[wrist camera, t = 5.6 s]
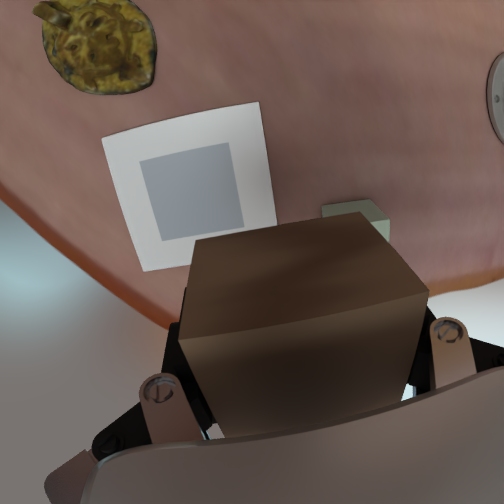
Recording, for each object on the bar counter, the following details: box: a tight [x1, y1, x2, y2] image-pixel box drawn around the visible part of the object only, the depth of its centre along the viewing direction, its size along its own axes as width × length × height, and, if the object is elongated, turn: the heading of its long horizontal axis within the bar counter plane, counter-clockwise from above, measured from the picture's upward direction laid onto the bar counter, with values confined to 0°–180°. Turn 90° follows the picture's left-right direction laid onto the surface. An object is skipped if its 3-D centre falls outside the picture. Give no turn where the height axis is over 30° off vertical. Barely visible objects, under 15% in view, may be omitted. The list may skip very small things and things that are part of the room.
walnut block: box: [178, 211, 429, 438], centre depth 10 cm, size 6×6×5 cm
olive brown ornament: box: [32, 0, 157, 95], centre depth 20 cm, size 9×5×15 cm
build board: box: [102, 102, 277, 272], centre depth 28 cm, size 14×14×1 cm
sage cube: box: [322, 199, 390, 242], centre depth 29 cm, size 5×5×5 cm
